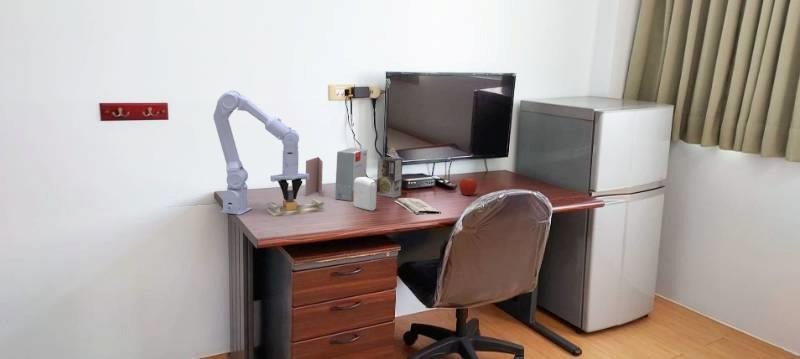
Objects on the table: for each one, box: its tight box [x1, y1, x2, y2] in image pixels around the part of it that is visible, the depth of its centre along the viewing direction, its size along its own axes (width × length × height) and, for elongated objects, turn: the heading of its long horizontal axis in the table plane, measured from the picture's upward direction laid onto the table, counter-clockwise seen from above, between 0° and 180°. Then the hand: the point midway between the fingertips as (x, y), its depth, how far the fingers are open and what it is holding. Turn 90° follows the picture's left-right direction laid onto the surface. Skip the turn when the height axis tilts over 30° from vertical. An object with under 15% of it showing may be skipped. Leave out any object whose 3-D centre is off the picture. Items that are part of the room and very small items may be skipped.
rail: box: [266, 198, 325, 217], centre depth 239 cm, size 20×7×4 cm, turn 121°
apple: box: [459, 178, 478, 196], centre depth 281 cm, size 8×8×8 cm
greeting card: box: [304, 156, 324, 198], centre depth 267 cm, size 11×7×15 cm, turn 161°
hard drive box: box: [334, 147, 368, 202], centre depth 265 cm, size 16×8×20 cm, turn 161°
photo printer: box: [352, 176, 377, 211], centre depth 248 cm, size 10×4×12 cm, turn 47°
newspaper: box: [394, 197, 442, 215], centre depth 254 cm, size 23×12×2 cm, turn 20°
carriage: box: [282, 189, 298, 210], centre depth 237 cm, size 4×4×7 cm
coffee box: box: [376, 156, 403, 198], centre depth 272 cm, size 9×6×16 cm
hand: (289, 199), depth 237 cm, fingers closed on carriage, 3 cm apart
